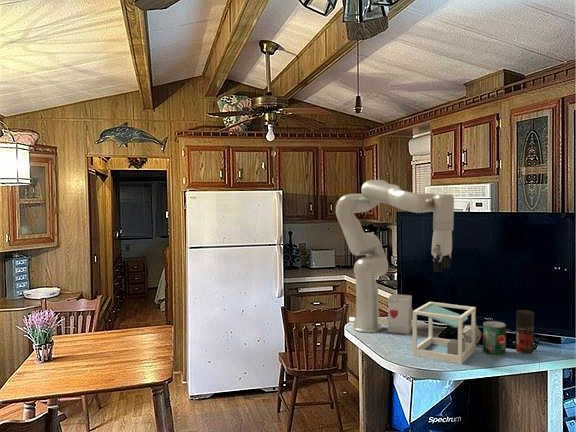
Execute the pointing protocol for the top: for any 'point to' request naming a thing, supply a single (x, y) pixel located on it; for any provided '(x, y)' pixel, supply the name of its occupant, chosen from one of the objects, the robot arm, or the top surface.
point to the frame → (461, 356)
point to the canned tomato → (494, 338)
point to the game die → (467, 334)
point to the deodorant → (525, 331)
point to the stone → (454, 347)
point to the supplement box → (400, 313)
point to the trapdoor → (439, 310)
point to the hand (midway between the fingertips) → (442, 270)
